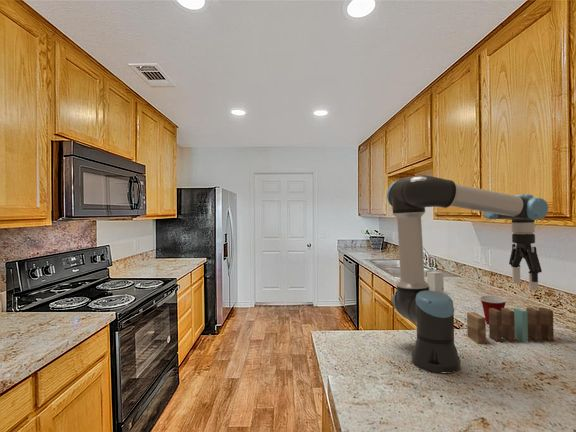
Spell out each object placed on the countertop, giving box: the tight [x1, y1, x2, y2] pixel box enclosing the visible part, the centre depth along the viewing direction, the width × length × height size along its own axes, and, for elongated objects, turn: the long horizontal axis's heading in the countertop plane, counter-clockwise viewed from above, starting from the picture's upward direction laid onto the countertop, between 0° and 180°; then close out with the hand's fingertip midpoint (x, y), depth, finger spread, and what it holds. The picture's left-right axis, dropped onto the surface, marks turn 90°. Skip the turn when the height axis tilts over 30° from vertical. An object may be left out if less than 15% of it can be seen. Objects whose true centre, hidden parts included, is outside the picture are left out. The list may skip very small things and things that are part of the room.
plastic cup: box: [479, 294, 508, 325], centre depth 154 cm, size 11×11×12 cm
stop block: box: [466, 311, 487, 345], centre depth 135 cm, size 3×8×10 cm, turn 179°
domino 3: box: [513, 307, 529, 343], centre depth 135 cm, size 2×5×12 cm, turn 179°
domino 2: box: [501, 307, 516, 343], centre depth 135 cm, size 2×5×12 cm, turn 179°
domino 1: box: [488, 308, 503, 343], centre depth 135 cm, size 2×5×12 cm, turn 179°
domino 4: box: [525, 307, 542, 343], centre depth 134 cm, size 2×5×12 cm, turn 179°
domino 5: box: [538, 307, 555, 343], centre depth 134 cm, size 2×5×12 cm, turn 179°
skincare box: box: [426, 270, 445, 294], centre depth 208 cm, size 8×6×15 cm
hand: (524, 286), depth 135 cm, fingers open, 13 cm apart
